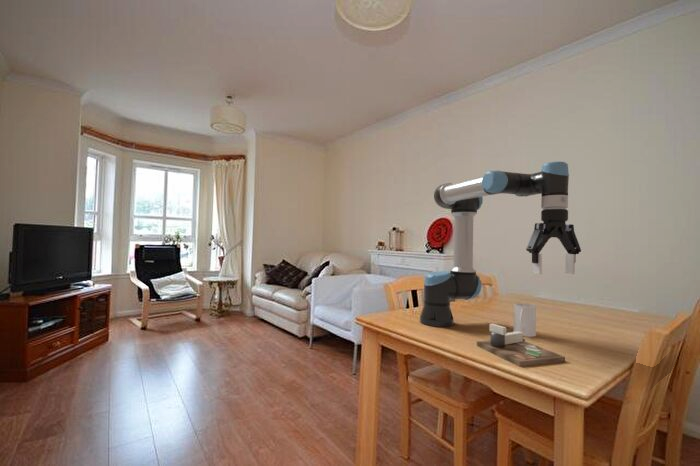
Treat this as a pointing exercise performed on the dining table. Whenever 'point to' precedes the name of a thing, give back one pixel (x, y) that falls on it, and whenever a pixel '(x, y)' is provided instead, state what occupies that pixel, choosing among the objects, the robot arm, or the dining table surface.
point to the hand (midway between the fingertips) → (553, 273)
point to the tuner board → (522, 353)
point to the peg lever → (503, 336)
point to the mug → (525, 319)
